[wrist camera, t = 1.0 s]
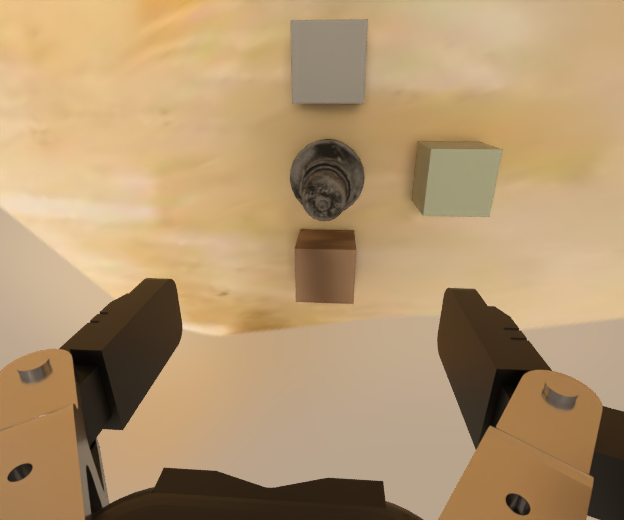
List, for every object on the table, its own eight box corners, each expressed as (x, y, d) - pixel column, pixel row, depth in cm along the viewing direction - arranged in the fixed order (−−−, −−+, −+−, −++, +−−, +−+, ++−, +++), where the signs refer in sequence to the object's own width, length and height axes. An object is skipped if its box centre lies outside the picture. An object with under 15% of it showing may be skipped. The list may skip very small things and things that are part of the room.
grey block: (363, 31, 29) (367, 19, 24) (359, 102, 31) (363, 103, 26) (298, 32, 29) (290, 20, 25) (299, 102, 31) (292, 103, 27)
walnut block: (354, 230, 35) (356, 250, 31) (351, 278, 37) (353, 303, 33) (300, 229, 36) (294, 248, 31) (301, 276, 37) (295, 301, 33)
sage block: (478, 141, 31) (502, 149, 27) (468, 200, 33) (489, 216, 29) (417, 141, 32) (431, 148, 27) (411, 199, 34) (423, 215, 29)
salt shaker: (317, 214, 35) (306, 269, 24) (282, 159, 33) (253, 190, 22) (374, 181, 33) (391, 223, 22) (340, 121, 31) (340, 134, 20)
